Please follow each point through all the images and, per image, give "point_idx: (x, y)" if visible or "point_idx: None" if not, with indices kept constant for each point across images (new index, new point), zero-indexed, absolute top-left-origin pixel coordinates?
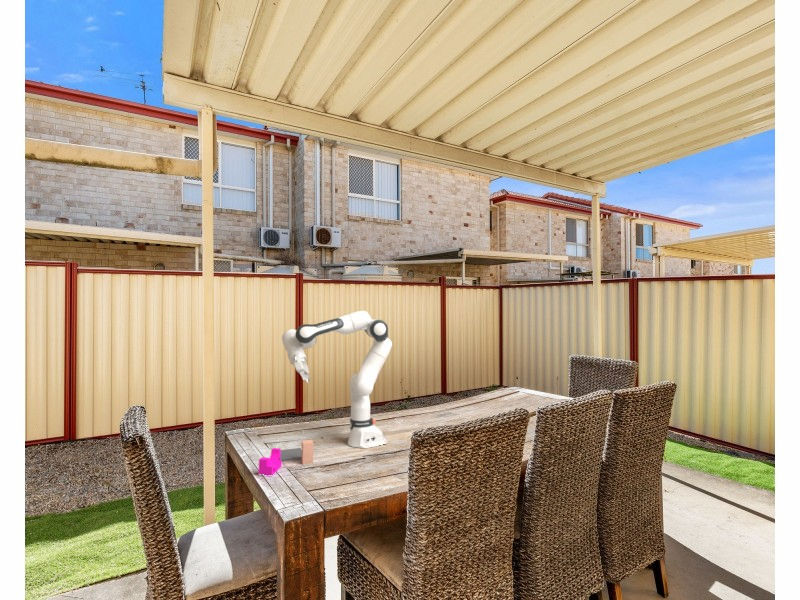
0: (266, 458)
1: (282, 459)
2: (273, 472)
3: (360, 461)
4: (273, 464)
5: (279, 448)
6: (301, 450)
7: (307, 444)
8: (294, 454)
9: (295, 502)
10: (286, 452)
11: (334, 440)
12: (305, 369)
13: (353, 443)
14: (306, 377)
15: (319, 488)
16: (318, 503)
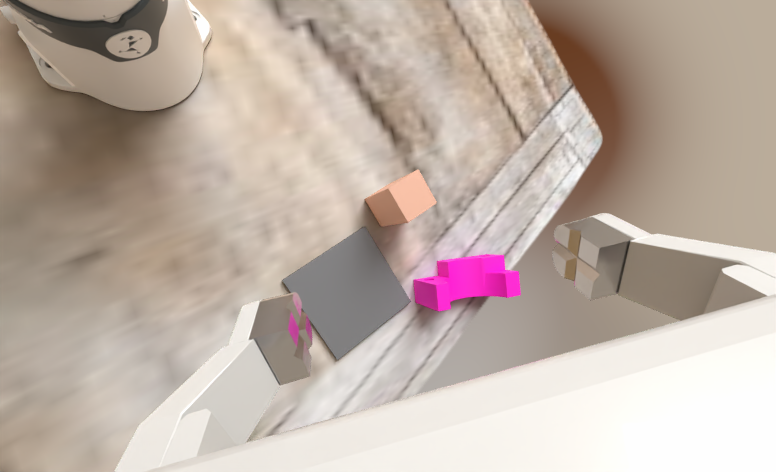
0: (511, 279)
1: (399, 283)
2: (483, 255)
3: (341, 36)
4: (490, 260)
5: (437, 288)
6: (309, 263)
7: (427, 189)
8: (352, 268)
9: (563, 147)
10: (341, 305)
11: (120, 183)
12: (683, 380)
13: (193, 70)
14: (227, 416)
15: (511, 117)
16: (558, 102)
